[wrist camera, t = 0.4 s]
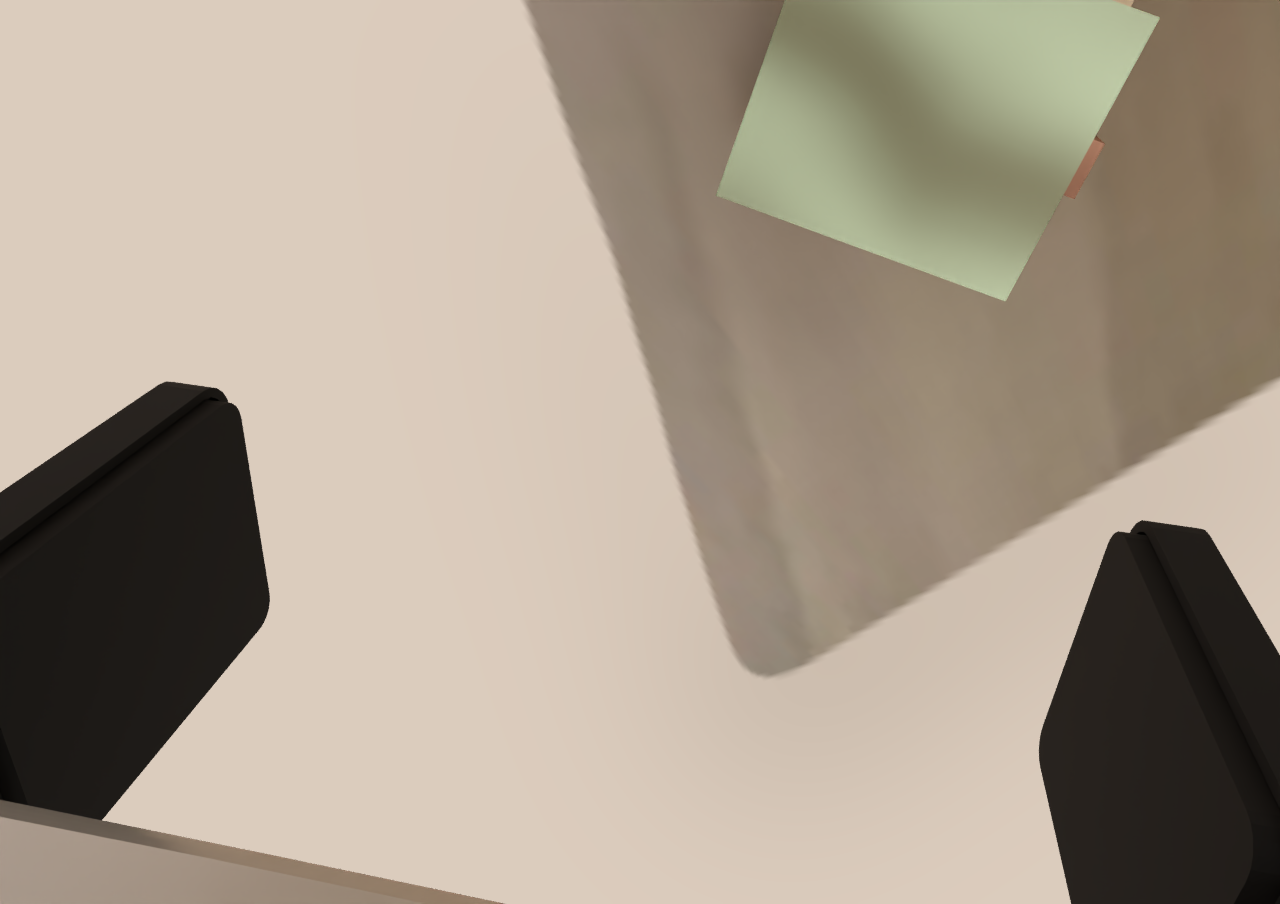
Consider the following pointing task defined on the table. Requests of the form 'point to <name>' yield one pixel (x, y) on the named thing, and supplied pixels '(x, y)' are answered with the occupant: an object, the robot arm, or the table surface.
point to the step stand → (933, 124)
